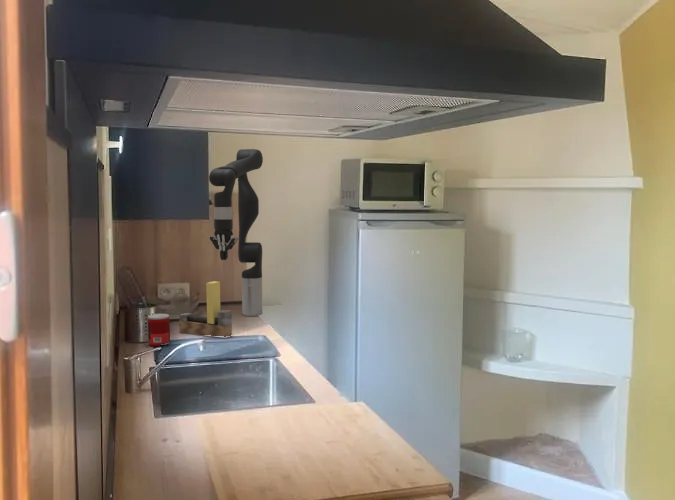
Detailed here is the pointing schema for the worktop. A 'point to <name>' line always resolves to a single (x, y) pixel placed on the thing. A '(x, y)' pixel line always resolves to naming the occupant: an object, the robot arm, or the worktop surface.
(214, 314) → the yellow rectangular block
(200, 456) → the worktop surface
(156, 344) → the canned food
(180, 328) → the wooden rack
